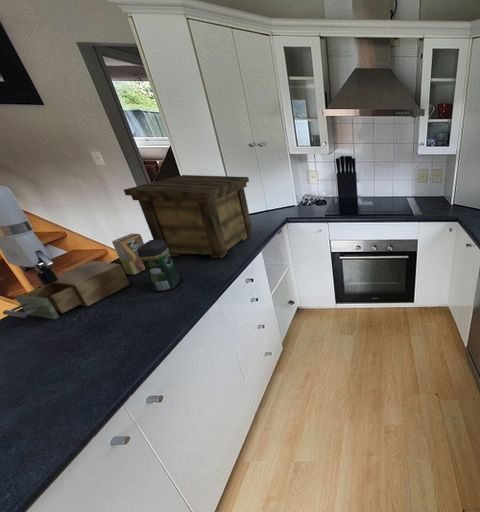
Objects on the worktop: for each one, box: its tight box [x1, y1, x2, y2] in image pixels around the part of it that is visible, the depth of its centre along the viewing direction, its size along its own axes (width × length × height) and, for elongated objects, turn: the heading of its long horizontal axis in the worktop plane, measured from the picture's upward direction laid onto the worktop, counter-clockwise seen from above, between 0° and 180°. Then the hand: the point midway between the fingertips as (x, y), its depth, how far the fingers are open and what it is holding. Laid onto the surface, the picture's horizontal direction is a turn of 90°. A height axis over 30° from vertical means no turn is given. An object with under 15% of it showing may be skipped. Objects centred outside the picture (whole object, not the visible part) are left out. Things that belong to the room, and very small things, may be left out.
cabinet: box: [53, 260, 131, 307], centre depth 100 cm, size 15×13×9 cm
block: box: [22, 265, 59, 287], centre depth 87 cm, size 4×4×4 cm
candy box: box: [111, 232, 146, 276], centre depth 115 cm, size 9×4×15 cm, turn 175°
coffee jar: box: [137, 239, 181, 292], centre depth 104 cm, size 10×8×19 cm
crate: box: [123, 174, 254, 259], centre depth 134 cm, size 35×35×33 cm
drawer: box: [2, 283, 84, 320], centre depth 90 cm, size 18×11×7 cm, turn 170°
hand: (44, 281), depth 88 cm, fingers closed on block, 4 cm apart
